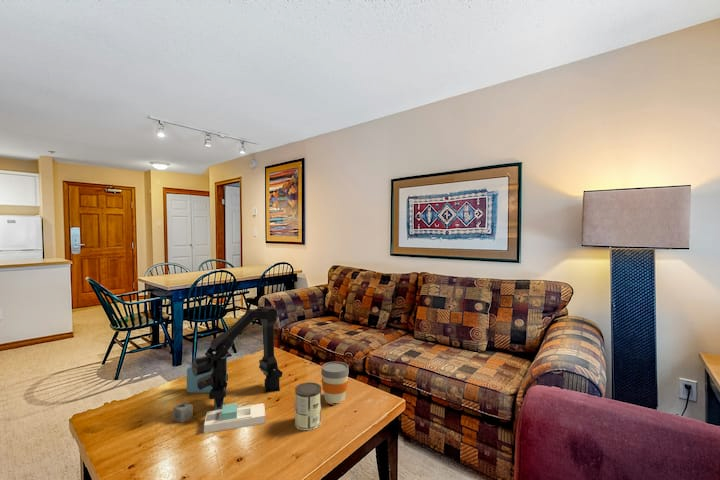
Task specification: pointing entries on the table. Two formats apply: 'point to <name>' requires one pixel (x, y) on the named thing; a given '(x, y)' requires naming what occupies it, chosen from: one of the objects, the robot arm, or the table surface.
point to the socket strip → (244, 418)
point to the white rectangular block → (216, 405)
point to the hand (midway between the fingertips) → (219, 405)
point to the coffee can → (307, 406)
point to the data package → (193, 382)
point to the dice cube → (182, 412)
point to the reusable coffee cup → (334, 381)
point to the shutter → (229, 411)
